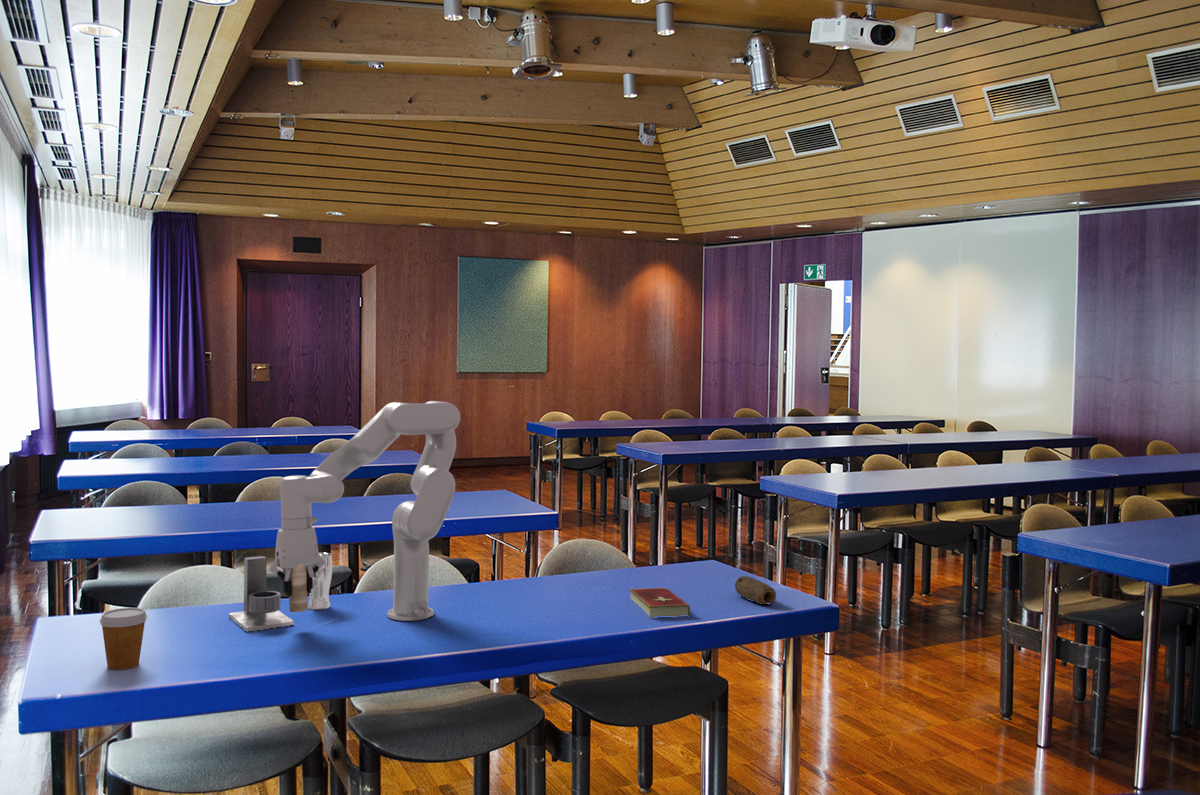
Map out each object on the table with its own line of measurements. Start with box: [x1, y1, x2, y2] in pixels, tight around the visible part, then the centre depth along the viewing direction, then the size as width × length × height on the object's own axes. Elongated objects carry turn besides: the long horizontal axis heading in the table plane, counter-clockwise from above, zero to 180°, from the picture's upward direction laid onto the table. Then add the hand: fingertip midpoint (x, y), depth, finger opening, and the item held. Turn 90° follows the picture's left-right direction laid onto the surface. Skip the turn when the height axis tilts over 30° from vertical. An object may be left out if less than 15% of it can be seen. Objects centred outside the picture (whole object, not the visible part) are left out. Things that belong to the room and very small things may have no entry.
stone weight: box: [734, 575, 777, 605], centre depth 274 cm, size 15×7×7 cm, turn 28°
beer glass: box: [307, 552, 333, 611], centre depth 257 cm, size 7×7×15 cm
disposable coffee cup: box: [99, 607, 148, 671], centre depth 204 cm, size 10×10×12 cm
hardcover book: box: [628, 587, 691, 617], centre depth 263 cm, size 12×21×4 cm, turn 14°
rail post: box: [288, 563, 308, 613], centre depth 235 cm, size 4×4×14 cm
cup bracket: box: [228, 555, 295, 633], centre depth 241 cm, size 17×12×16 cm
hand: (298, 592), depth 235 cm, fingers closed on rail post, 4 cm apart
